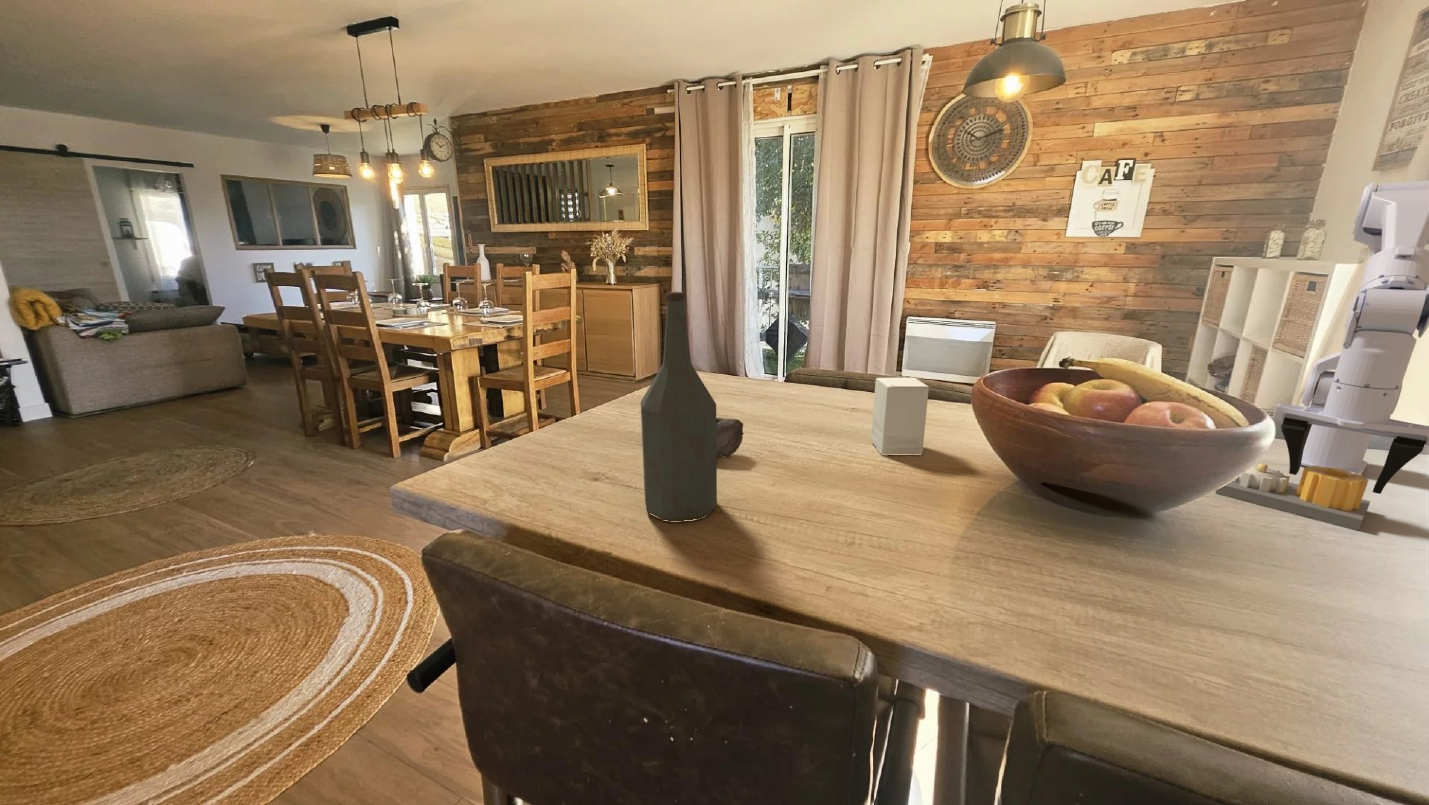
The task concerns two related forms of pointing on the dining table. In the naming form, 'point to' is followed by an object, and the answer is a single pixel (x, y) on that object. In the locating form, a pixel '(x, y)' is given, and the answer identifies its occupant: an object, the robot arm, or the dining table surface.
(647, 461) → the bottle
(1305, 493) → the amber gear
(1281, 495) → the gear board
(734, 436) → the dark brown rounded piece
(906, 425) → the supplement box
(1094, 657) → the dining table surface
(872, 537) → the dining table surface
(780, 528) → the dining table surface
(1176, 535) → the dining table surface
